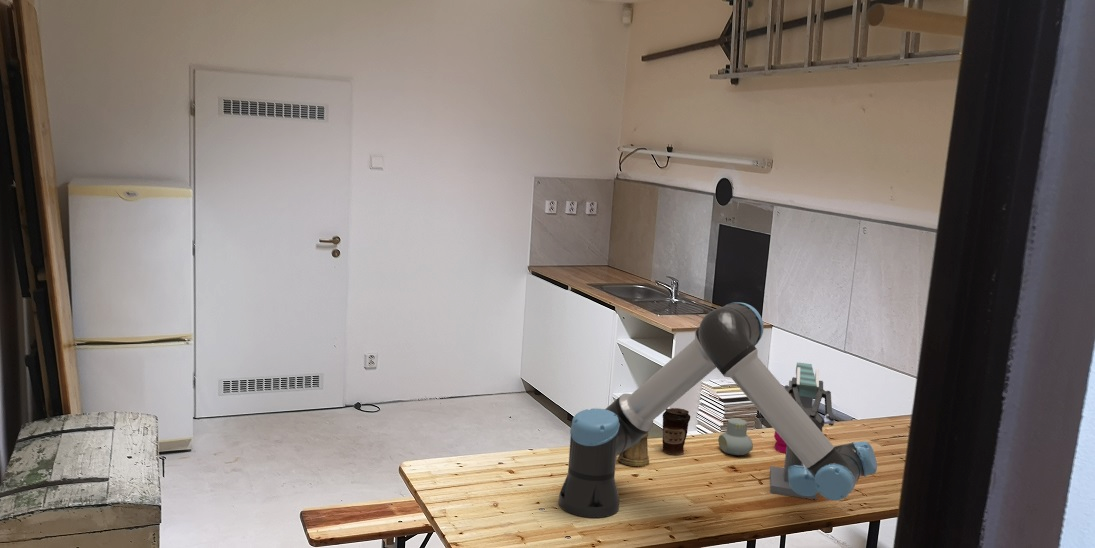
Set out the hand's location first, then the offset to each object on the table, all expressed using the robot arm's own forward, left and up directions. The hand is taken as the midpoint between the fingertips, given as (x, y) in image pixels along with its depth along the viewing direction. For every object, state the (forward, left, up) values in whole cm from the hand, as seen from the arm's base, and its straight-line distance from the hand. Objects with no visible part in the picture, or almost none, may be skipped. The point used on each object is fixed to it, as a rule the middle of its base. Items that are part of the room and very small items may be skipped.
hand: (807, 372), depth 221 cm
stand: (-3, +7, -34) cm, 35 cm away
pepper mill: (-15, +36, -34) cm, 52 cm away
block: (-1, +3, -4) cm, 5 cm away
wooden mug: (-46, -10, -34) cm, 58 cm away
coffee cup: (-40, +8, -34) cm, 53 cm away
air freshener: (-26, +22, -34) cm, 48 cm away
